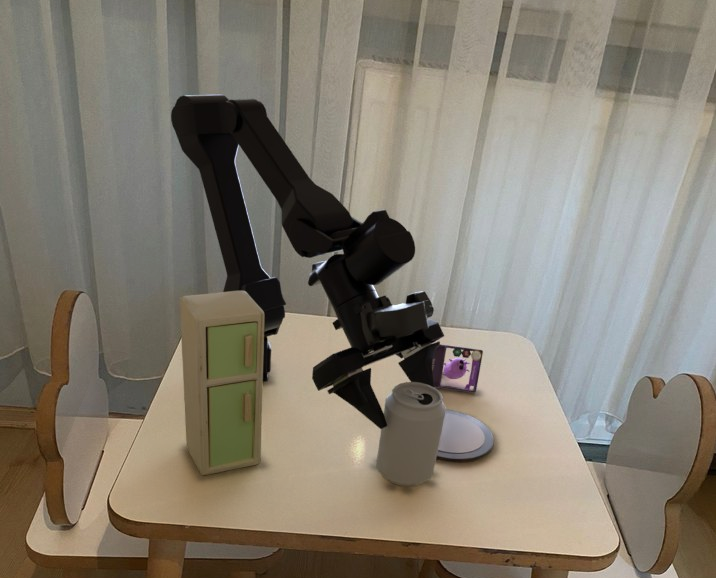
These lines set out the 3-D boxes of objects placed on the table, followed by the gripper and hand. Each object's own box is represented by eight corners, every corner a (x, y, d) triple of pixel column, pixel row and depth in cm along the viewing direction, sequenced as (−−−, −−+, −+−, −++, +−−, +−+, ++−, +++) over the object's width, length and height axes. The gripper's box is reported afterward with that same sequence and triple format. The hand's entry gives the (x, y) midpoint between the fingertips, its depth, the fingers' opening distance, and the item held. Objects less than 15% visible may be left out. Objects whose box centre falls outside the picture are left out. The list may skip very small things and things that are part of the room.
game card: (426, 343, 110) (483, 350, 110) (424, 339, 115) (479, 347, 115) (419, 385, 112) (476, 393, 112) (418, 380, 117) (472, 388, 117)
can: (428, 495, 89) (445, 414, 83) (370, 483, 90) (382, 401, 83) (435, 462, 96) (451, 384, 89) (380, 451, 96) (392, 373, 89)
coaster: (414, 463, 95) (415, 459, 94) (393, 412, 105) (393, 408, 105) (505, 461, 98) (506, 457, 97) (476, 411, 108) (477, 408, 108)
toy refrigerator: (201, 480, 87) (198, 321, 75) (184, 448, 92) (178, 294, 80) (263, 468, 90) (268, 314, 78) (243, 437, 96) (245, 289, 84)
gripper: (336, 287, 76) (399, 420, 76) (445, 258, 88) (499, 372, 88) (285, 329, 85) (341, 447, 85) (390, 297, 96) (439, 401, 97)
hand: (409, 415), depth 88 cm, fingers open, 9 cm apart
